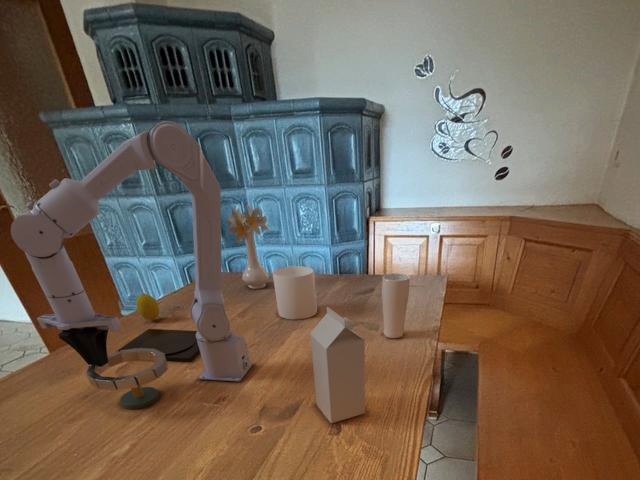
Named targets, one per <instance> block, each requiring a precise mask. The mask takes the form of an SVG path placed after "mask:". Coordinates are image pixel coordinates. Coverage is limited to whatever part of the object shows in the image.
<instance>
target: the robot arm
mask: <svg viewBox="0 0 640 480" xmlns="http://www.w3.org/2000/svg"><path fill="white" fill-rule="evenodd" d="M156 164H158V165H159V166H160V167H162V168H163V169H164V170H166V171H167V172H169V173H171V174H172V175H174V176H175V177H176V178H177V180H178V181H179V182H180V183H181V184H182V185H183V187H185V189H186V190H187V191H188V192H189V193H190V195H191V210H192V211H191V213H192V214H191V215H192V216H191V217H192V234H193V259H194V260H193V261H194V279H195V280H194V281H195V282H194V283H195V286H194V291H193V296H194V297H193V302H192V303H191V306H190V309H189V313H190V318H191V319H192V320H193V322H194V324H195V325H196V329H197V330H196V331H197V333H196V339H197V343H198V346H199V350H200V353H199V354H200V356H201V360H202V363H203V367H204V371H203V372H202V373H201V374H200V375H199V376H198V379H199V380H205V381H223V382H237V383H238V382H241V381H242V380H243V378H244V377H245V376H246V374H247V373H248V372H249V370H250V369H251V368H252V366H253V363H251V360H250V355H249V349H248V345H247V342H246V341H247V340H246V339H245V337H244V336H242V335H240V334H239V335H238V334H236V333H233V332H232V330H231V322H230V319H229V317H228V315H227V313H226V304H225V299H224V295H223V285H222V284H223V281H222V276H223V275H222V274H223V273H222V195H221V194H222V191H221V186H220V182H219V181H218V179H217V178H216V176H215V174H214V172H213V170H212V168H211V166H210V165H209V162H208V161H207V159H206V157H205V154H204V152H203V149H202V147H201V145H200V144H199V143H198V142H197V140H195V138H194V137H193V136H192V135H191V134H190V133H189V132H188V131H187V130H186V129H185V128H184V127H183V126H182V125H180V124H178V123H177V122H174V121H170V120H164V121H161V122H158V123H156V124H153V125H152V126H150V128H149V129H148V130H144V131H143V132H140V133H138V134H136V135H134V136H133V137H130V138H129V139H126V140H125V141H123V142H122V143H121V144H120V145H119V146H118V147H117V148H115V149H114V151H112V152H110V154H109V155H108V156H106V157H105V159H103V160H102V161H101V162H100V163H99V164H98V165H96V167H94V168H93V169H92V170H91V171H90V172H89V173H88V174H87V175H86V176H84V177H83V178H82V179H81V180H77V179H72V178H68V177H67V178H66V177H65V178H63V179H62V180H61V181H59V180H58V179H56V178H55V179H54V180H52V181H51V182H50V183H49V184H48V185H49V187H50V188H51V189H50V190H49V191H48V192H46V193H45V194H44V195H43V196H42V197H41V198H39V199H38V200H37V201H36V202H35V203H34V202H33V201H29V202H28V203H27V204H25V207H26V208H27V209H28V210H29V211H26V212H24V213H22V214H19V215H16V217H15V219H14V220H13V221H12V223H11V226H10V236H11V238H12V240H13V242H14V243H15V245H16V246H17V247H18V248H19V249H20V250H21V251H22V252H24V254H25V256H26V258H27V261H28V262H29V264H30V266H31V270H32V272H33V275H34V276H35V278H36V280H37V282H38V283H39V285H40V288H41V290H42V292H43V293H44V296H45V298H46V299H47V301H48V303H49V305H50V307H51V309H52V311H53V313H52V314H47V313H46V314H43V315H41V316H38V317H37V318H36V319H37V322H38V324H39V325H40V327H41V329H45V330H46V329H49V328H57V329H58V330H59V331H61V332H59V333H58V334H57V336H58V338H59V339H60V340H62V341H63V342H64V343H66V344H67V345H68V346H70V347H71V348H72V349H73V350H75V352H76V353H77V354H78V355H79V356H80V357H81V358H82V359H83V360H84V362H85V363H86V364H87V366H89V365H90V364H91V363H93V362H94V361H95V362H96V364H97V365H98V366H99V367H102V366H104V365H105V364H107V363H108V356H107V355H108V351H107V350H108V348H107V340H108V333H109V331H110V332H116V331H118V330H120V329H121V328H122V324H121V322H120V319H119V317H117V316H109V315H106V314H102V313H97V312H95V310H94V308H93V306H92V304H91V301H90V299H89V297H88V295H87V292H86V290H85V288H84V285H83V284H82V281H81V279H80V276H79V275H78V272H77V270H76V268H75V266H74V262H73V261H71V258H70V257H69V255H68V253H67V251H66V248H65V245H63V242H64V239H71V238H72V237H74V236H75V235H76V234H77V233H79V232H80V231H81V230H82V229H83V228H84V227H86V226H87V225H88V224H90V222H91V221H93V220H94V219H95V218H96V217H97V216H99V215H100V214H101V213H100V211H101V210H100V202H99V201H100V200H101V199H102V198H103V197H104V196H106V195H108V193H110V192H111V191H113V189H115V188H116V187H117V186H119V185H120V184H122V182H124V181H125V180H127V179H128V178H129V177H131V176H132V175H133V174H134V173H136V172H137V171H149V170H157V169H158V167H157V165H156Z"/></svg>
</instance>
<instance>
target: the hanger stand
mask: <svg viewBox="0 0 640 480" xmlns="http://www.w3.org/2000/svg"><path fill="white" fill-rule="evenodd" d="M159 399H160V393H159V390H158V389H156V388H155V387H152V386H139V385H138V387H136V388H130V390H129V391H127V392H125V393H123V395H122V396H121V397H120V399H119V402H120V405H121V406H122V407H123V408H125V409H127V410H140V409H144V408H147V407H149V406H152V405H154V404H155V403H157V402H158V400H159Z"/></svg>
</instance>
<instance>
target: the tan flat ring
mask: <svg viewBox="0 0 640 480" xmlns="http://www.w3.org/2000/svg"><path fill="white" fill-rule="evenodd" d="M116 351H117V350H116ZM116 351H114V352H111V353H109V354H108V353H107V356H108V363H107V364H105V365H104V366H102V367H99V366H98V365H97V364H96V362H95V361H94V362H93V363H91V364H90V365H87V369H86V371H85V376H86V377H87V379H88V381H89V383H90V385H91V386H93V387H94V388H96V389H98V390H103V391H124V390H131V388H136V387H138V385H139V386H141V387H143V386H144V385H147V384H149V383H152V382H154V381H157V380H158V379H160V378H161V377H162V376H163V375H164V374H165V373H167V372H168V361H167V360H166V357H165V354H164V353H162V352H160V351H158V350H156V349H150V348H139V349H138V348H134V349H127V350H121V351H120V352H119V351H117V352H116ZM138 360H139V361H153V362H155V363H154V364H152V365H151V366H150V367H149V368H147V369H144V370H141V371H139V372H136V373H133V374H127V375H122V376H115V377H114V376H103V375H102V374H103V373H104V372H106V371H107V370H109V369H110V368H112V367H115V366H118V365H120V364H124V363H127V362H132V361H133V362H134V361H138Z"/></svg>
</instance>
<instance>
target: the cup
mask: <svg viewBox="0 0 640 480" xmlns="http://www.w3.org/2000/svg"><path fill="white" fill-rule="evenodd" d="M272 280H273V286H274V291H275V299H276V300H275V301H276V306H277V313H278V316H279V317H281V318H283V319H286V320H293V321H294V320H304V319H309V318H312V317H314V316H315V315H316V314H317V313H318V307H317V295H316V294H317V293H316V292H317V291H316V280H315V270H314V269H313V268H311V267H309V266H301V265H291V266H283V267H279V268H277V269H274V270H273V272H272Z"/></svg>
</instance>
